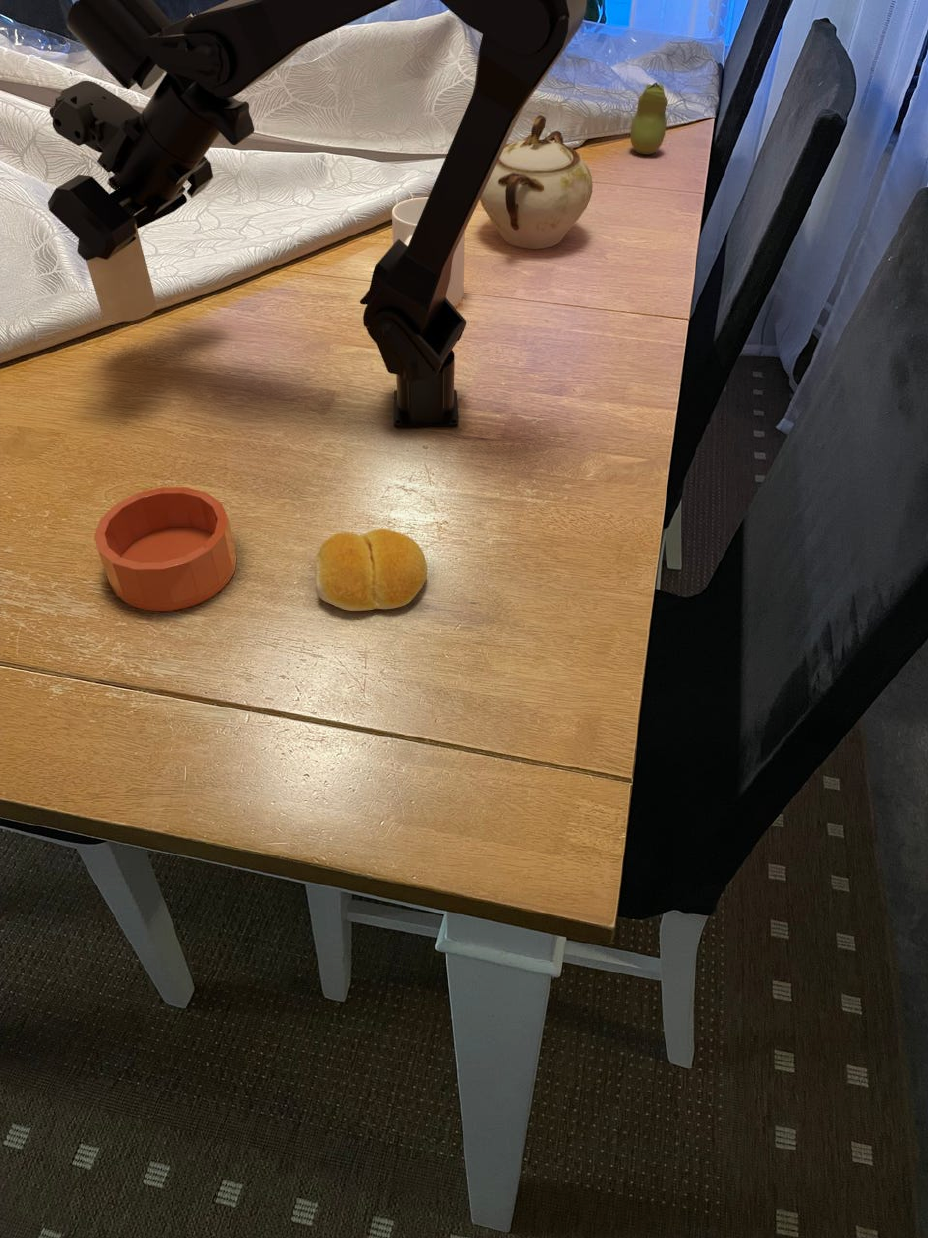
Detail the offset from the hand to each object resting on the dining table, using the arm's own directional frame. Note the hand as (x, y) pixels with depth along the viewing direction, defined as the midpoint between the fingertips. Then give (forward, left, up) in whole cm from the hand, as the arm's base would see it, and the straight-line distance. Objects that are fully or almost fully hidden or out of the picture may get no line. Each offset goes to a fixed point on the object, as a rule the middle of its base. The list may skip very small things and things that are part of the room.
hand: (99, 244), depth 86 cm
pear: (+65, -69, -12) cm, 95 cm away
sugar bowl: (+32, -47, -12) cm, 58 cm away
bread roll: (-36, -27, -12) cm, 47 cm away
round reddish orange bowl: (-34, -11, -12) cm, 38 cm away
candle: (0, -1, -7) cm, 7 cm away
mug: (+12, -32, -12) cm, 36 cm away
